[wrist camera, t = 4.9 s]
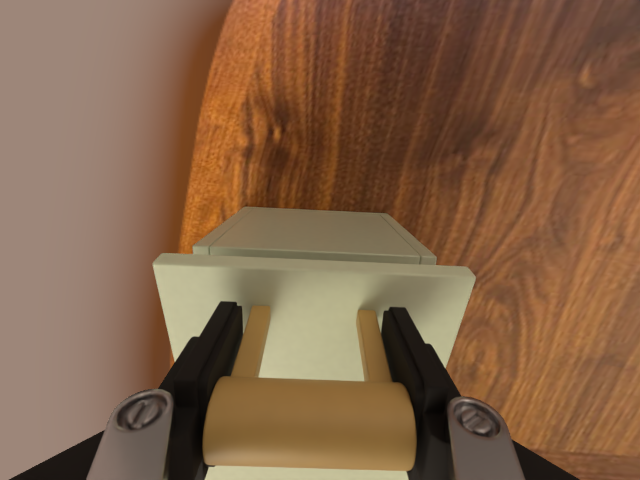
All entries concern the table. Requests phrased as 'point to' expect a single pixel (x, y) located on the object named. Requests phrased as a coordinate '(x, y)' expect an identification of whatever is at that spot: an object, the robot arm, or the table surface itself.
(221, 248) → the chest
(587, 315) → the table surface
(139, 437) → the robot arm
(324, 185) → the table surface
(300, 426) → the lid
